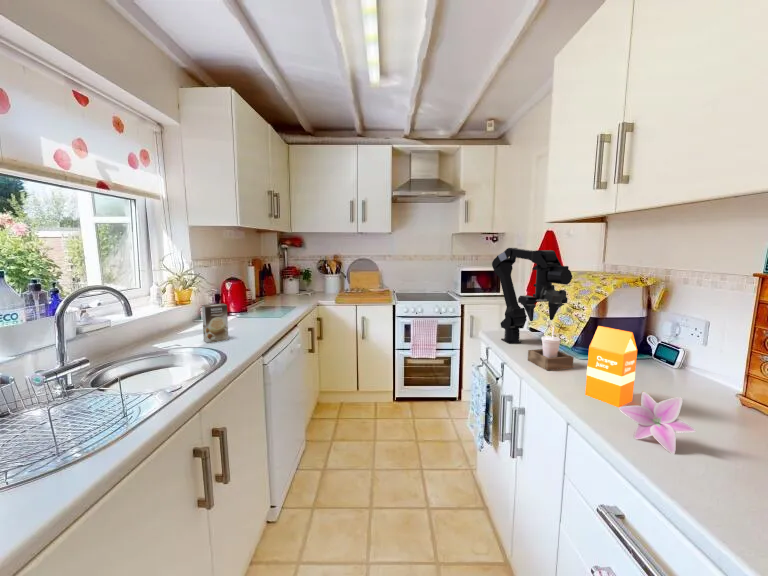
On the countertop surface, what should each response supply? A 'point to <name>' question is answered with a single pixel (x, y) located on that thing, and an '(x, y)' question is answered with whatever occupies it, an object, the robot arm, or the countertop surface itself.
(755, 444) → the countertop surface
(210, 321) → the coffee box
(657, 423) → the lily
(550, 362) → the brown wooden tray
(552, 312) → the robot arm
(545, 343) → the smoothie
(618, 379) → the orange juice
